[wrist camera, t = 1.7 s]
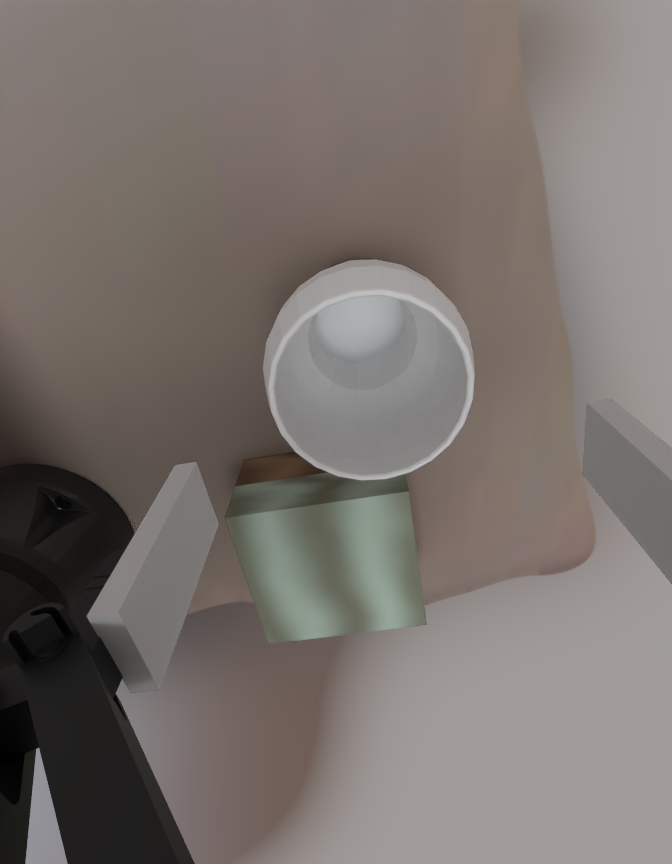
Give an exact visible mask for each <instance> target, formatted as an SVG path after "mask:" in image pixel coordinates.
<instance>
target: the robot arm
mask: <svg viewBox="0 0 672 864" xmlns="http://www.w3.org/2000/svg"><path fill="white" fill-rule="evenodd" d="M582 474H583V475H584V477H585V478H586V479H587V480H588V481H589V483H590V484H591V485H592V486H593V488H594V489H595V490H596V491H597V493H598V494H599V495H600V496H601V497H602V499H603V500H604V501H605V502H606V504H607V505H608V506H609V507H610V509H611V510H612V511H613V512H614V514H615V515H616V516H617V517H618V518H619V520H620V521H621V522H622V523H623V525H624V526H625V527H626V528H627V529H628V531H629V532H630V533H631V534H632V536H633V537H634V538H635V539H636V541H637V542H638V543H639V544H640V546H641V547H642V548H643V549H644V550H645V552H646V553H647V554H648V555H649V556H650V558H651V559H652V560H653V562H654V563H655V564H656V565H657V566H658V568H659V569H660V570H661V571H662V573H663V574H664V575H665V576H666V578H667V579H668V580H669V581H670V582H671V584H672V448H671V447H670V446H669V445H667V444H666V443H665V442H664V441H663V440H661V439H660V438H659V437H658V436H656V435H655V434H654V433H653V432H651V431H650V430H649V429H648V428H647V427H645V426H644V425H643V424H642V423H641V422H639V421H638V420H637V419H635V418H634V417H633V416H632V415H630V413H628V412H627V411H626V410H625V409H623V408H622V407H621V406H620V405H618V404H617V403H616V402H614V400H612V399H605V400H599V401H592V402H587V405H586V421H585V439H584V455H583V472H582ZM218 526H219V524H218V521H217V518H216V515H215V512H214V510H213V507H212V504H211V501H210V499H209V496H208V493H207V490H206V487H205V485H204V482H203V479H202V476H201V474H200V471H199V468H198V465H197V462H192V463H185V464H179V465H175V466H174V468H173V470H172V471H171V473H170V475H169V476H168V478H167V480H166V482H165V483H164V485H163V487H162V488H161V490H160V492H159V494H158V495H157V497H156V499H155V500H154V502H153V504H152V505H151V507H150V509H149V511H148V512H147V514H146V516H145V517H144V519H143V521H142V522H141V524H140V526H139V528H138V529H137V531H136V533H135V534H134V536H133V532H132V529H131V527H130V524H129V522H128V520H127V518H126V517H125V515H124V513H123V512H122V511H121V509H120V508H119V507H118V505H117V504H116V503H115V502H114V501H113V500H112V499H111V498H110V497H109V496H108V495H107V494H106V493H104V492H103V491H102V490H101V489H99V488H98V487H96V486H95V485H93V484H92V483H90V482H89V481H87V480H85V479H83V478H81V477H79V476H77V475H75V474H72V473H70V472H67V471H64V470H61V469H57V468H54V467H49V466H43V465H33V464H23V465H12V466H7V467H4V468H0V864H25V859H26V849H27V839H28V828H29V817H30V806H31V796H32V786H33V775H34V764H35V755H36V749H37V748H40V753H41V757H42V761H43V765H44V769H45V773H46V777H47V781H48V785H49V788H50V793H51V797H52V801H53V805H54V809H55V813H56V818H57V822H58V825H59V829H60V834H61V838H62V842H63V846H64V850H65V854H66V858H67V862H68V864H195V863H194V861H193V859H192V857H191V855H190V853H189V850H188V848H187V846H186V844H185V842H184V839H183V837H182V835H181V833H180V831H179V829H178V826H177V824H176V822H175V820H174V818H173V815H172V813H171V811H170V809H169V807H168V804H167V802H166V800H165V798H164V796H163V794H162V791H161V789H160V787H159V785H158V783H157V781H156V778H155V776H154V774H153V772H152V770H151V767H150V765H149V763H148V761H147V759H146V756H145V754H144V752H143V750H142V748H141V745H140V743H139V741H138V739H137V737H136V735H135V732H134V730H133V728H132V726H131V724H130V721H129V719H128V717H127V715H126V713H125V711H124V709H123V706H122V704H121V702H120V700H119V699H118V697H117V695H116V691H117V689H118V686H119V684H120V682H121V680H122V679H123V681H124V682H125V684H126V686H127V688H128V689H129V691H130V693H137V692H146V691H156V690H160V687H161V685H162V681H163V679H164V676H165V673H166V671H167V668H168V665H169V662H170V659H171V657H172V654H173V651H174V648H175V646H176V643H177V640H178V637H179V634H180V631H181V628H182V626H183V623H184V620H185V618H186V615H187V612H188V609H189V607H190V604H191V601H192V598H193V595H194V593H195V590H196V587H197V584H198V581H199V579H200V576H201V573H202V570H203V568H204V565H205V562H206V559H207V556H208V554H209V551H210V548H211V545H212V542H213V540H214V537H215V534H216V531H217V529H218Z"/></svg>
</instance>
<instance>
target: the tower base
mask: <svg viewBox="0 0 672 864" xmlns="http://www.w3.org/2000/svg"><path fill="white" fill-rule="evenodd" d="M225 521H226V523H227V526H228V529H229V532H230V535H231V538H232V541H233V543H234V546H235V549H236V552H237V555H238V558H239V560H240V563H241V566H242V569H243V572H244V575H245V578H246V580H247V583H248V586H249V589H250V592H251V595H252V598H253V600H254V603H255V606H256V609H257V612H258V615H259V618H260V620H261V623H262V626H263V629H264V632H265V634H266V637H267V640H268V643H269V644H273V643H281V642H289V641H297V640H306V639H314V638H321V637H330V636H337V635H346V634H355V633H363V632H371V631H379V630H387V629H396V628H404V627H412V626H420V625H427V623H426V615H425V608H424V600H423V593H422V585H421V578H420V570H419V563H418V555H417V548H416V540H415V533H414V526H413V518H412V511H411V503H410V496H409V489H408V485H407V481H406V476H405V474H402V475H399V476H395V477H392V478H388V479H378V480H357V479H351V478H345V477H339V476H336V475H334V474H331V473H329V472H326V471H324V470H322V469H319V468H317V467H315V466H313V465H312V464H311V463H309V462H308V461H307V460H305V459H304V458H303V457H301V456H300V455H299V454H297V453H296V452H294V453H288V454H281V455H275V456H268V457H262V458H255V459H249V460H244V462H243V465H242V468H241V471H240V474H239V477H238V480H237V483H236V486H235V489H234V492H233V495H232V498H231V501H230V504H229V507H228V510H227V513H226V516H225Z"/></svg>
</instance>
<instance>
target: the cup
mask: <svg viewBox="0 0 672 864" xmlns="http://www.w3.org/2000/svg"><path fill="white" fill-rule="evenodd" d="M263 374H264V381H265V388H266V394H267V398H268V402H269V406H270V410H271V413H272V415H273V417H274V420H275V422H276V424H277V427H278V429H279V431H280V433H281V435H282V436H283V437H284V438H285V440H286V441H287V442H288V443H289V445H290V446H291V447H292V448H293V450H294V451H295V452H296V453H297V454H299V455H300V456H301V457H303V458H304V459H305V460H307V461H308V462H309V463H311V464H312V465H313V466H315V467H317V468H319V469H322V470H324V471H326V472H329V473H331V474H334V475H336V476H339V477H345V478H351V479H357V480H378V479H388V478H392V477H395V476H399V475H402V474H406V473H410V472H412V471H413V470H415V469H417V468H419V467H421V466H423V465H424V464H426V463H428V462H430V461H432V460H433V459H434V458H435V457H436V456H437V455H438V454H440V453H441V452H442V451H443V450H444V449H445V448H446V447H447V446H449V445H450V444H451V442H452V441H453V439H454V438H455V436H456V435H457V433H458V432H459V431H460V429H461V428H462V426H463V425H464V423H465V420H466V418H467V415H468V412H469V409H470V406H471V403H472V401H473V390H474V375H475V374H474V355H473V350H472V346H471V341H470V337H469V332H468V329H467V327H466V325H465V323H464V321H463V320H462V318H461V316H460V314H459V312H458V311H457V309H456V307H455V305H454V304H453V303H452V302H451V301H450V300H449V299H448V298H447V297H446V296H445V295H444V294H443V293H442V292H441V291H440V290H439V289H438V288H437V287H436V286H435V285H434V284H433V283H432V282H431V281H430V280H429V279H428V278H426V277H425V276H423V275H421V274H419V273H417V272H415V271H413V270H411V269H409V268H408V267H406V266H404V265H400V264H395V263H391V262H386V261H381V260H376V259H374V260H364V259H363V260H349V261H346V262H343V263H340V264H338V265H335V266H333V267H330V268H328V269H325V270H322V271H320V272H319V273H317V274H316V275H315V276H313V277H312V278H310V279H309V280H307V281H306V282H305V283H303V284H302V285H300V286H299V287H298V288H297V289H296V291H295V292H294V293H293V294H292V295H291V297H290V298H289V299H288V300H287V302H286V303H285V304H284V305H283V306H282V308H281V310H280V312H279V314H278V316H277V319H276V321H275V323H274V326H273V328H272V330H271V332H270V335H269V337H268V339H267V342H266V348H265V355H264V362H263Z"/></svg>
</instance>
